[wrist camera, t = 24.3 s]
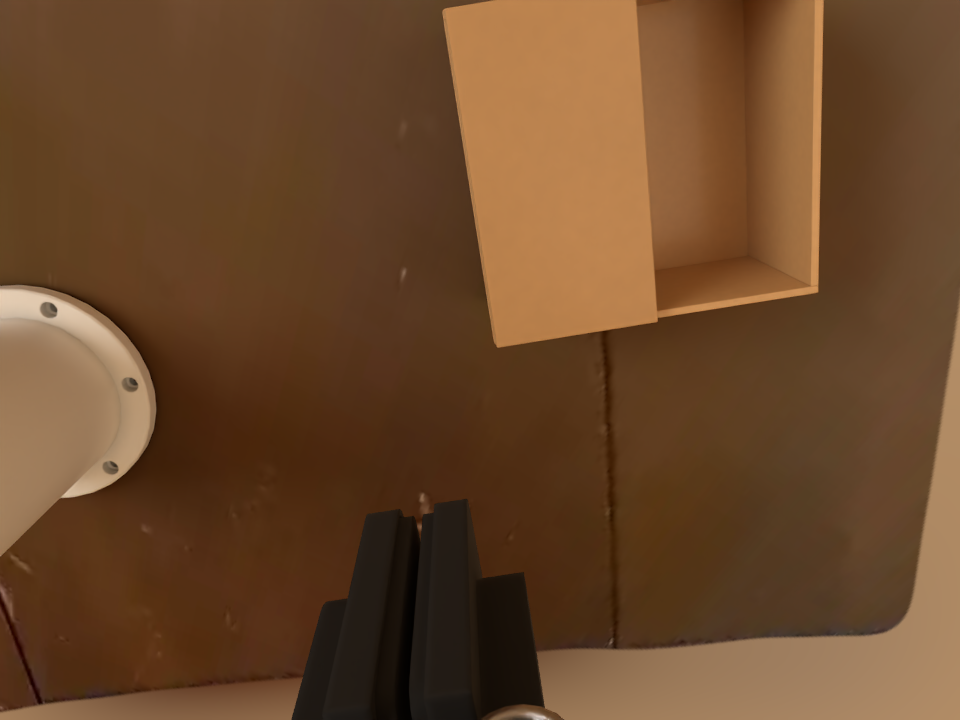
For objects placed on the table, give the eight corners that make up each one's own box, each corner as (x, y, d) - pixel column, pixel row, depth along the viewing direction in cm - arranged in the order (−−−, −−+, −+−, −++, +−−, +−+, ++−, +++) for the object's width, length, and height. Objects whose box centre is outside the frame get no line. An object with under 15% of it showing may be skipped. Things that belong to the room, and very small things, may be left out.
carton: (487, 301, 38) (494, 344, 31) (444, 31, 33) (442, 10, 26) (751, 259, 37) (818, 292, 30) (747, -20, 33) (825, -55, 26)
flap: (496, 345, 30) (496, 348, 30) (444, 9, 26) (444, 8, 25) (655, 319, 30) (658, 322, 30) (632, -22, 26) (635, -24, 25)
